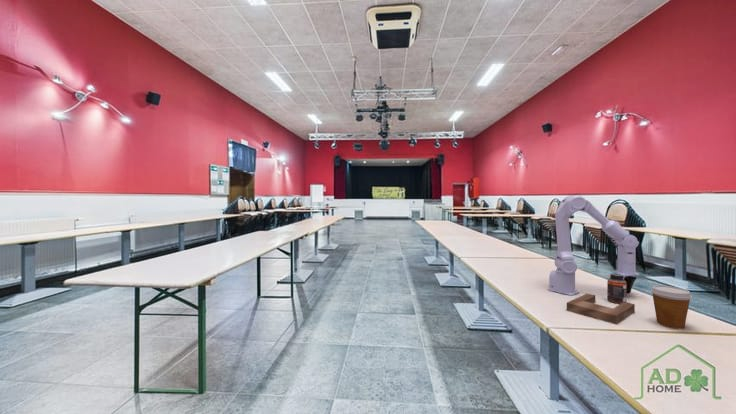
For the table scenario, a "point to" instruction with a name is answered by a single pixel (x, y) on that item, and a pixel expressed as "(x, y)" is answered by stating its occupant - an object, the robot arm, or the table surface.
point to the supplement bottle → (616, 289)
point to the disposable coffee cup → (671, 305)
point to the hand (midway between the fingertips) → (626, 293)
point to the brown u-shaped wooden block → (600, 309)
